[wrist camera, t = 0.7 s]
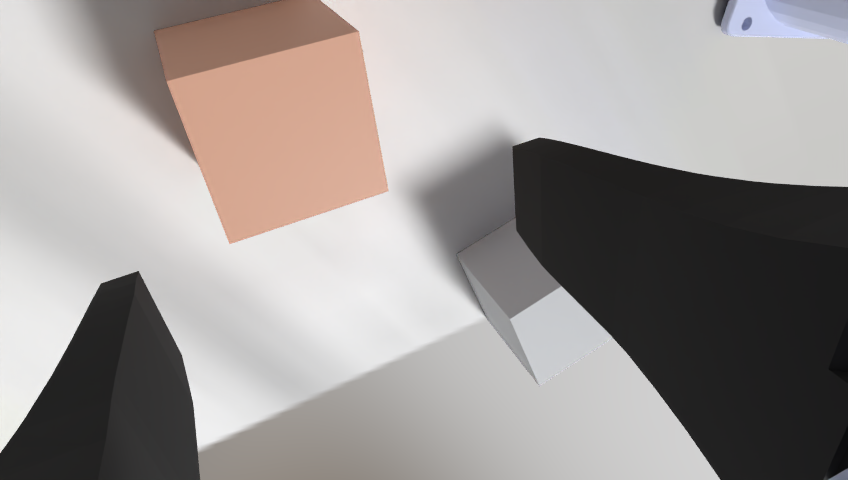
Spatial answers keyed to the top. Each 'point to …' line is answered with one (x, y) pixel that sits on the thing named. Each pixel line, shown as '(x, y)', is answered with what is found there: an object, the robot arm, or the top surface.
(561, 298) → the grey cube
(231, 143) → the terracotta cube
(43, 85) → the top surface
